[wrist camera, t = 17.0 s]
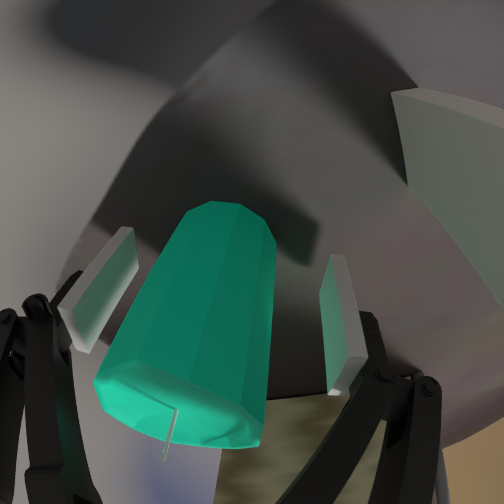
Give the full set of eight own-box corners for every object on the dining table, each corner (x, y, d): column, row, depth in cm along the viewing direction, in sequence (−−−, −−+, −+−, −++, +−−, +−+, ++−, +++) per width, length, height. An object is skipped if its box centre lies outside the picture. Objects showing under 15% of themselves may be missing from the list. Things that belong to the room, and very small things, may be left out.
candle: (294, 223, 16) (297, 459, 6) (255, 301, 19) (229, 493, 9) (185, 184, 15) (55, 385, 5) (165, 270, 19) (85, 448, 9)
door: (410, 376, 22) (436, 533, 10) (407, 391, 24) (428, 534, 12) (229, 402, 27) (205, 548, 14) (239, 415, 28) (220, 549, 16)
